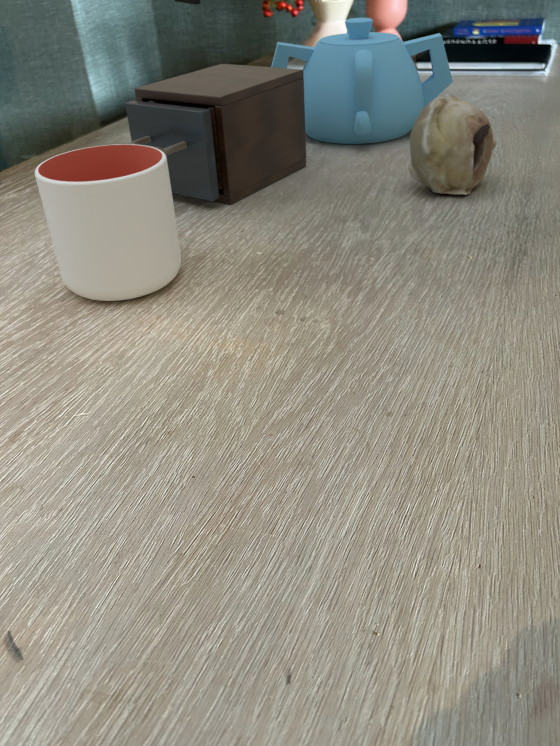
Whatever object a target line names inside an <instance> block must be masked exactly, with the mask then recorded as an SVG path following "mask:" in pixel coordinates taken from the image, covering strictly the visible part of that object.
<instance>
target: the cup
mask: <svg viewBox="0 0 560 746" xmlns="http://www.w3.org/2000/svg"><path fill="white" fill-rule="evenodd" d="M34 177H35V181H36V186H37V190H38V192H39V196H40V201H41V204H42V208H43V212H44V216H45V219H46V224H47V227H48V228H47V229H48V231H49V235H50V239H51V243H52V247H53V250H54V254H55V259H56V263H57V266H58V270H59V274H60V278H61V279H62V282H63V283H64V286H66V287H67V288H68V289H69V290H70V291H71V292H73V293H74V294H75V295H78V296H80V297H82V298H85V299H88V300H93V301H99V302H117V301H118V302H119V301H125V300H132V299H136V298H141V297H144V296H147V295H150V294H153V293H155V292H156V291H159V290H161V289H162V288H164V287H166V286H167V285H168V284H169V283H170V282H172V281H173V280H174V279H175V278H176V277H177V275H178V273H179V270H180V269H181V265H182V253H181V246H180V240H179V239H180V238H179V231H178V226H177V220H176V218H177V217H176V212H175V207H174V206H175V204H174V198H173V193H172V191H171V184H170V177H169V170H168V164H167V157H166V155H165V153H164V152H163V151H161V150H159V149H157V148H154V147H150V146H145V145H135V144H115V145H112V144H103V145H102V144H101V145H96V146H89V147H88V146H87V147H82V148H78V149H74V150H70V151H66V152H62V153H59V154H56V155H54V156H52V157H49V158H48V159H45V160H43V161H42V162H41V163H40V164H38V165H37V166H36V168H35V170H34Z"/></svg>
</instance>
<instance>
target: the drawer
mask: <svg viewBox="0 0 560 746" xmlns="http://www.w3.org/2000/svg"><path fill="white" fill-rule="evenodd" d="M124 105H125V111H126V116H127V122H128V128H129V129H128V130H129V133H130V141H124V140H123V141H122V140H115V141H113V142H112V144H111V145H115V144H135V145H145V146H150V147H154V148H157V149H159V150H161V151H163V152H164V153H165V155H166V157H167V164H168V170H169V177H170V184H171V191H172V194H174V195H179V196H184V197H187V198H188V197H189V198H192V199H199V200H204V201H208V202H215V201H214V200H216V199H218V198H219V190H218V189H223V182H222V172H221V162H220V152H219V142H218V132H217V122H216V112H215V106H212V105H203V104H194V103H185V102H176V101H167V100H158V99H152V100H149V102H141V101H136V100H130V101H126V102H125V103H124Z"/></svg>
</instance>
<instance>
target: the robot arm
mask: <svg viewBox="0 0 560 746" xmlns="http://www.w3.org/2000/svg"><path fill="white" fill-rule="evenodd" d="M174 2H176V3H184V4H189V5H200V4H201V0H174Z"/></svg>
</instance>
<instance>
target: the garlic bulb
mask: <svg viewBox="0 0 560 746" xmlns="http://www.w3.org/2000/svg"><path fill="white" fill-rule="evenodd" d="M409 136H410V138H409V152H410V161H409V166H408V171H409V172H408V173H409V176H410V177H411V178H412V179H414V180H416V181H418V182H420V183H421V184H423V185H424V186H426V187H428V188H429V189H430V190H431V191H432V193H435V194H436V193H437V194H446V195H465V196H466V195H470V194H472V193H471V192H472V191H473V190H474V189H475V188H477V187H478V185H479V184H480V182H481V181H482V180H483V178H484V177H485V175H486V173H487V170H488V167H489V164H490V162H491V159H492V156H493V151H494V149H495V148H496V147H497V144H498V143H497V140H495V139H494V133H493V128H492V125H491V122H490V120H489V118H488V117H487V115H486V114H485V113H484V112H483V110H481V109H480V108H479V107H477V106H475V105H473V104H471V103H470V102H468V101H464V100H460V99H459V98H458V97H457V96H456V95H451V94H448V93H446V94H445V96H444V97H442V96H437V97H436V98H435V99H434V100H433V101H431V102H430V103H428V104H427V105H426V106H425V107H424V108H423V110H422V111H421V113H420V115H419V116H418V118H417V120H416V122H415V124H414V126H413V128H412V129H411V130H410V135H409Z"/></svg>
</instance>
